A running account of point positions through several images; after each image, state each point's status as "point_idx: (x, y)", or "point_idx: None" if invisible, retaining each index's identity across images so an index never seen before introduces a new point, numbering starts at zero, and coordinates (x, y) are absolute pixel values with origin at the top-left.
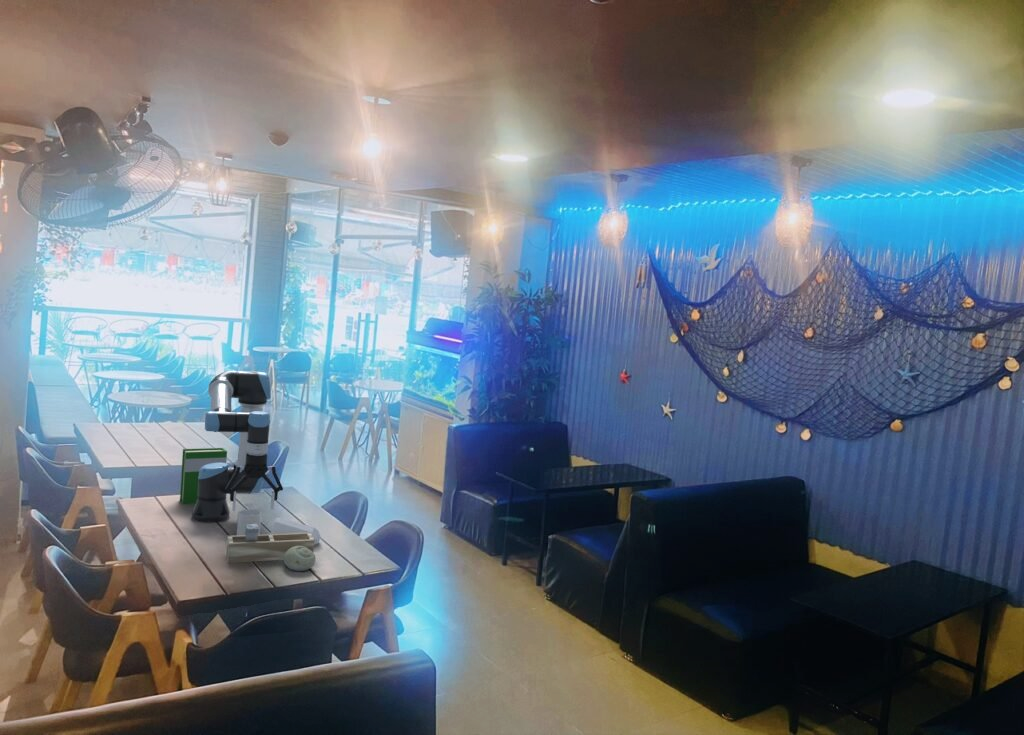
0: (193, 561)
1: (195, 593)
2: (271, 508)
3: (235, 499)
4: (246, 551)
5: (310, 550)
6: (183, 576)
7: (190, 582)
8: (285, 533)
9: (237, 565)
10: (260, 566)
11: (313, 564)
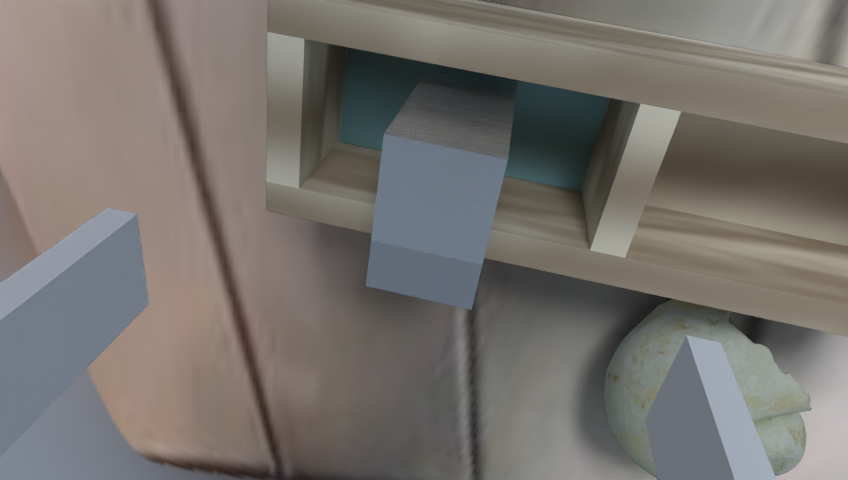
0: (117, 55)
1: (167, 425)
2: (652, 417)
3: (22, 428)
4: None
5: (791, 458)
6: None
7: (137, 329)
8: (838, 99)
9: None
10: (487, 274)
11: None
